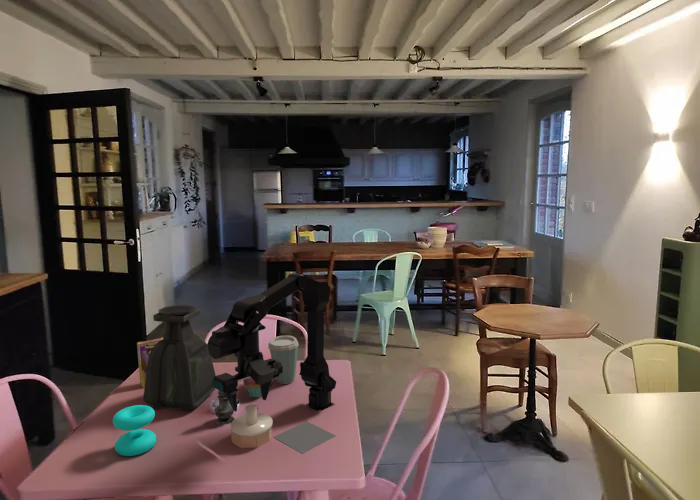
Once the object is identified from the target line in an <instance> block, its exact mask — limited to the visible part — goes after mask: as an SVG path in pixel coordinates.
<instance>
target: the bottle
mask: <svg viewBox="0 0 700 500" xmlns="http://www.w3.org/2000/svg"><path fill="white" fill-rule="evenodd" d="M200 314H201V309H200V307H196V306H195V305H189V304H174V305H169V306H164V307H162V308H159V309H158V312H157V313H155V314H153V322H162V323H166V324H165V329H164V332H163V337H162V338H163V340H161V341H159V342H158V343H157V344H156V345H155V346H154V347H153V349H152V350H151V352H150V355H149V357H148V365H147V372H146V380H145V388H143V389H144V390H143V398H142V401H143V402H144V403H146V404H148V405H149V406H150V407H151V406H152V408H157V409H158V408H159V409H170V410H171V409H173V410H184V411H185V410H186V411H191V410H193V409H195V408H197V407H198V406H199V405H200V404H202V403H203V402H204V401H205V400H206V399H207V398H208V397H209V396H211V394H212V393H214V391H215V390H216V388H214V387H213V386H212V380H213V378H214V377H215V376H217V375H216V372H215V367H214V363H213V360H212V359H213V358H212V357H211V355H210V354H209V351H208V346H207V343H206V341H205V340H203V338H202V337H201V336H200V334H195V332H194V330H193V328H192V325H191V323H190V320H191V319H193V318H195V317H196V316H198V315H200Z"/></svg>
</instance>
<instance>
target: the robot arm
mask: <svg viewBox="0 0 700 500" xmlns="http://www.w3.org/2000/svg"><path fill="white" fill-rule="evenodd" d="M297 291H299V292H300V293H301V296H302V301H303V302H302V303H304V305H305V307H306V309H307V325H306V326H307V328H306V330H307V331H306V333H307V337H306V339H307V340H306V341H307V342H306V345H307V346H306V348H307V349H306V353H307V354H306V357H305V359H304V361H300V363H299V368H300V369H299V376H300V378H301V380H302V381H303V383H304V385H305V386H306V387H309V390H308V393H309V394H308V403H306V406H307V407H309V408H310V409H313V410H314V411H315V410H316V411H318V412H322V411H324V410H326V409H328V408H330V407H333V406H335V403H334V402H332V392H333V390H334V389H336V385H337V381H336V380H335V379H334V378H333V377H332V376H331V375H330V369H329V364H328V363H327V360H326V358H325V356H324V351H325V350H324V346H325V345H324V343H325V342H324V341H325V308H326V307H327V306H328V304H329V302H330V297H331V286H330V284H329V283H328V282H327V281H325V280H317V279H313V278H310V277H307V276H305V275H304V274H301V273H290V274H288V275H287V276H286V277H284V278H283V279H282V280H281V281H278V282H277V283H275V284H274V285H272V286H271V287H269V288H267V289H266V290H264V291H262V292H261V293H260V294H259V293H258V294H257V295H252V296H247V297H245V298H243V299H239V300H238V301H237V300H236V302H235V303H234V304H233V305H232V309H231V312H230V314H229V316H228V317H227V319H226V321H225V323H224V325H223V329H216V330H213V331H212V332H211V336H210V337H209V339H208V341H207V343H206V344H207V346H208V351H209V354H210V355H211V358H212V359H214V360H218V359H221V358H225V357H228V356H232V355H234V357H236V360H237V361H236V362H237V363H236V364H237V366H235V367H234V371H235V372H237V373H236V374H234V375H232V374H230V373H228V372H224V373H221V374H217V375H216V376H215V377H214V378H213V380H212V386H213V387H214V388H215V390H218V392H219V391H221V392H223V393H224V394H225V395H226V397H227V399H228V401H229V403H230V405H231V407H232V409H233V410H234V413H235V412H237V411H238V398H237V395H238V394H237V393H238V392H239V390H240V389H239V388H238V386H239V383H238V382H241V381H244V380H245V379H248V378H252V379H253V380H254V381H255V383H256V384H257V385H260V387H261V394H262V396H261V399H262V401H267V397H268V395H269V392H270V389H271V386H272V384H273V381H275V380H276V377H278V376H279V374H280V373H283V365H282V363H281V362H279V361H277V360H276V359H274V360H273V359H271V358H268V359H265V360H264V355H263V354H264V353H263V352H262V351H260V335H259V331H260V332H261V331H263V330H265V329H266V326H265V325H263V324H262V323H261V321H262V320H263V319H264V318H266V316H267V315H268V312H269V311H270V309H271V308H273V307H274V306H276V305H278V304H279V303H280V302H282V301H284V300H285V299H286V298H288V297H290V296H291V295H293V294H294V293H296V292H297ZM240 323H241V324H240Z"/></svg>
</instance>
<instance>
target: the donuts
mask: <svg viewBox="0 0 700 500" xmlns="http://www.w3.org/2000/svg"><path fill="white" fill-rule="evenodd" d="M155 415H156V412H155V410H154V407H151V405H146V404H145V405H144V404H138V405H137V404H136V405H135V404H134V405H131V406H126V407H124V408H122V409H120V410H119V411H117V412H116V413H115V414H114V416H113V417H112V425H113V426H114V427H115V428H116V429H118V430H120V431H127V432H126V433H123V434H122V435H120V436H119V437H118V438H117V439H116V442H114V443H115V444H114V450H115V452H116V453H117V454H119V455H120V456H124V457H133V456H139V455H142V454H145V453H147V452H148V451H150V450H152V448H154V446H155V445H156V443H157V435H156V433H155V432H153V430H150V429H145V428H144V427H146V426H148V425H150V424H151V423H152V422H153V420H154V419H155Z"/></svg>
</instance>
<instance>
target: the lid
mask: <svg viewBox="0 0 700 500" xmlns="http://www.w3.org/2000/svg"><path fill="white" fill-rule="evenodd" d="M273 424H274V422H273V418H272V416H270V415H268V414H265V413H260V412H258V411H257V405H256V404H247V405H246V406H245V414H242V415H240V416H238V417H236V418H234V420H233V421H232V422H231V423H230V431H232V432H233V433H235V434H237V435H240V436H255V435H259V434H262V433H264V432H266V431H268V430H269V429H270V428H271V429H272V427H273Z"/></svg>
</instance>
